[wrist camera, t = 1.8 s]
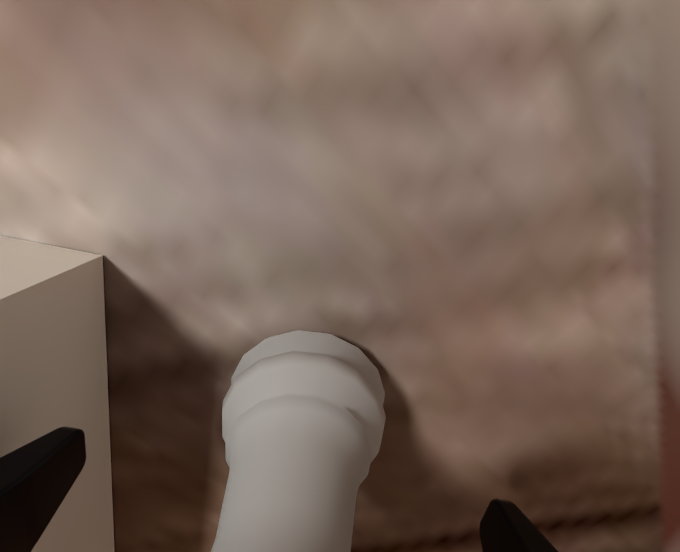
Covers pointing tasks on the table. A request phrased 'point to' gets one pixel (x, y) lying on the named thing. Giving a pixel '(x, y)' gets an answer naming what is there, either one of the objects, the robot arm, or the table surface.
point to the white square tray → (58, 377)
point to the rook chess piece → (298, 444)
